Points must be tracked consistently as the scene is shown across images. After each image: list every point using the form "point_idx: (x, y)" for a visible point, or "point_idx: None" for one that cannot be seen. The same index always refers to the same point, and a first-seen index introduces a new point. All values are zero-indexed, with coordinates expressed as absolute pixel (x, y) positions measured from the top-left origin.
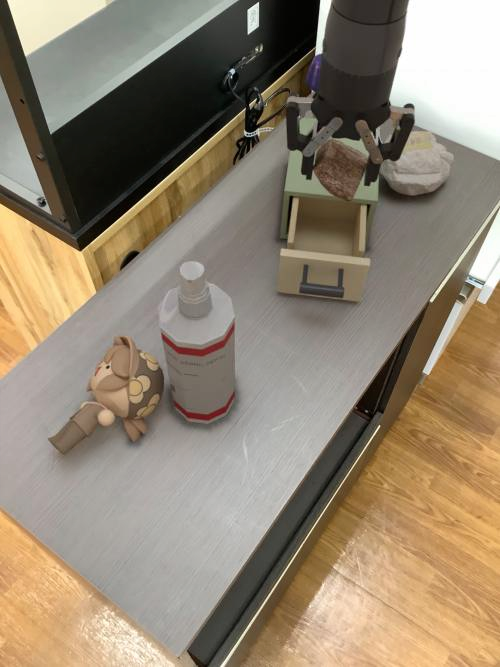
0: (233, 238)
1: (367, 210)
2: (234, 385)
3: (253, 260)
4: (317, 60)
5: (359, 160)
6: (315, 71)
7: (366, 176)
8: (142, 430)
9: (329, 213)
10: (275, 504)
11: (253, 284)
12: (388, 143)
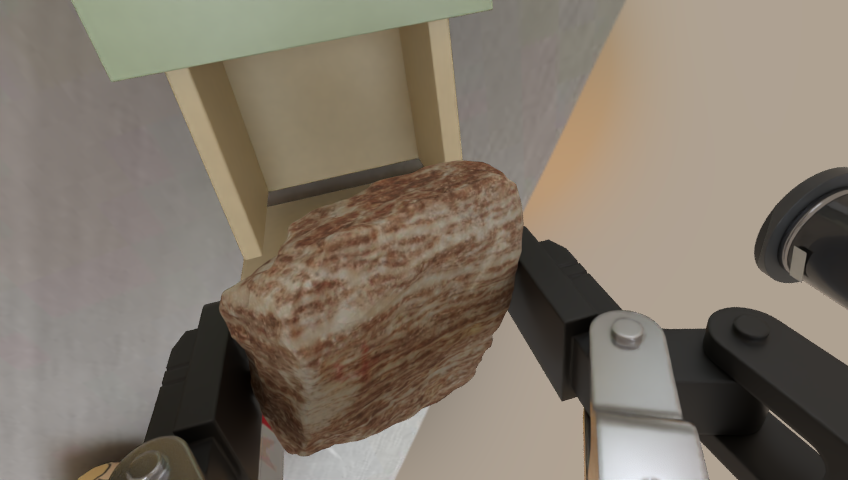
0: (35, 84)
1: None
2: (283, 455)
3: (146, 142)
4: None
5: (486, 284)
6: None
7: (524, 335)
8: None
9: None
10: (391, 474)
11: (190, 210)
12: (716, 386)
